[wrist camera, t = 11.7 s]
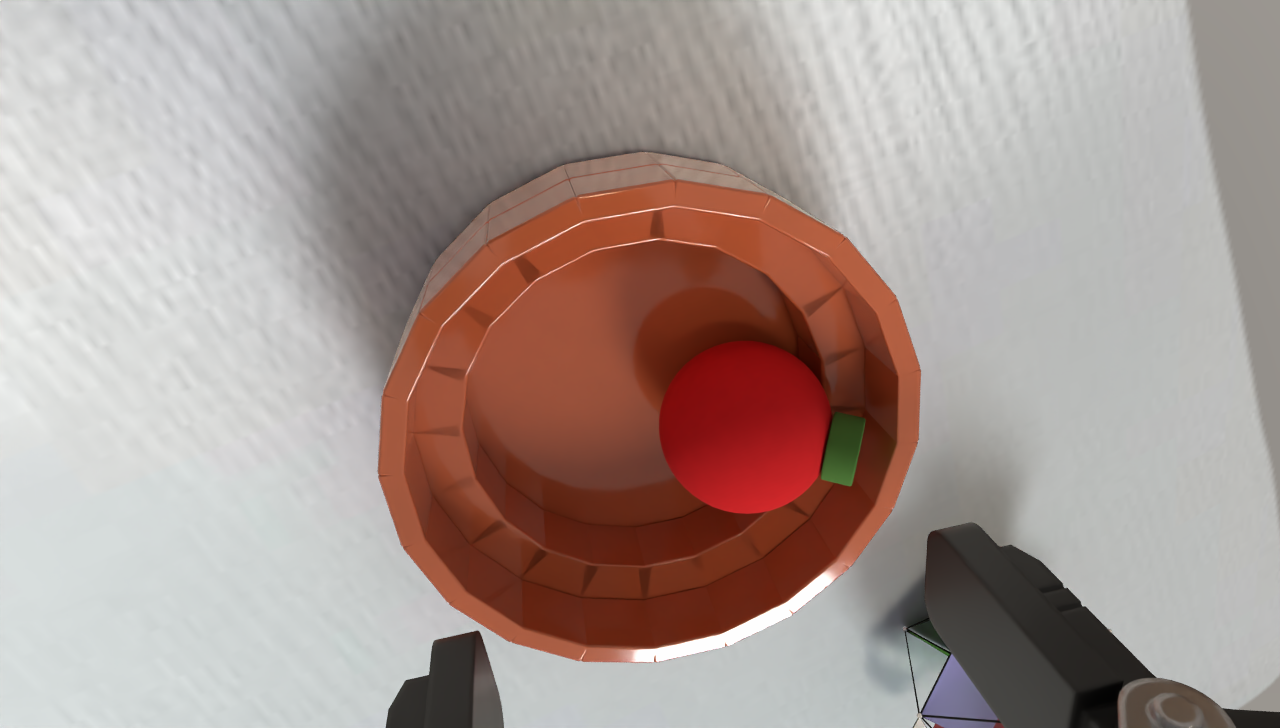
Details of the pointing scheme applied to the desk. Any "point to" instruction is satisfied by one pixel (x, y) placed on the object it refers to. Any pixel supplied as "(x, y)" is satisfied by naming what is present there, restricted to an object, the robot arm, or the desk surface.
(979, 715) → the geometric puzzle
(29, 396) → the desk surface
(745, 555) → the bowl
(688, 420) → the tomato
